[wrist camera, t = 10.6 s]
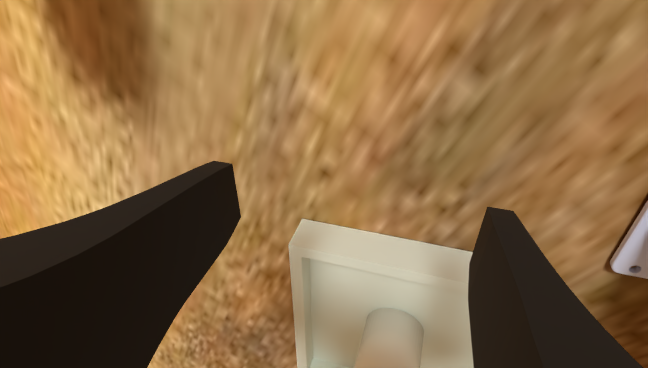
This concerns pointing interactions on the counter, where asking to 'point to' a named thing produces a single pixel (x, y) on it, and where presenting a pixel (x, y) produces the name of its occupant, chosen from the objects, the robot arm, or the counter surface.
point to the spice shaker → (390, 340)
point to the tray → (375, 293)
